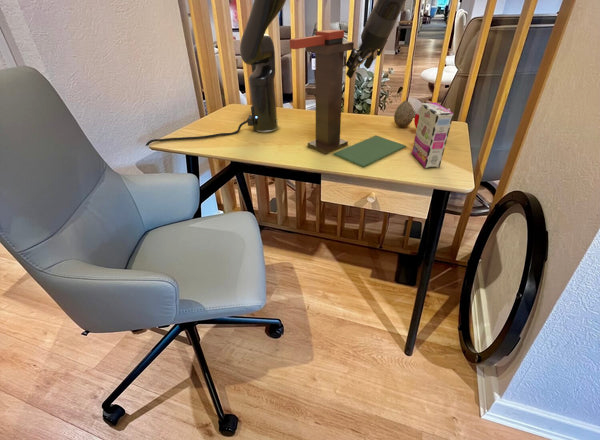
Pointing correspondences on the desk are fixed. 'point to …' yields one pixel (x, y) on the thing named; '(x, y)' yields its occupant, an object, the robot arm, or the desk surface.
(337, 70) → the stand
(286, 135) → the desk surface
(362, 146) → the felt mat
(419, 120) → the candy bar box
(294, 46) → the brush
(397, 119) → the decorative egg
